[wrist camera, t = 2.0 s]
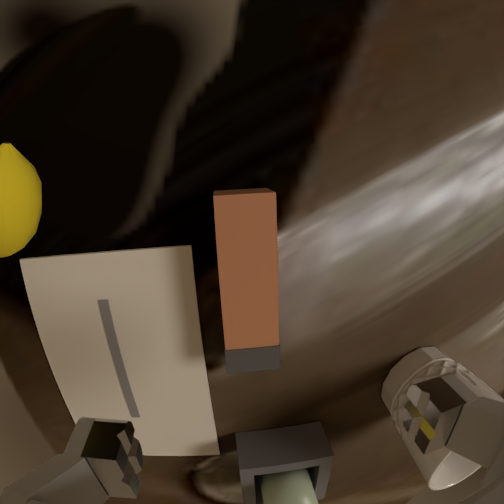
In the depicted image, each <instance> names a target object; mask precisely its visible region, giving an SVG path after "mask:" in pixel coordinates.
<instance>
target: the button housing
mask: <svg viewBox="0 0 504 504" xmlns="http://www.w3.org/2000/svg"><path fill="white" fill-rule="evenodd" d="M235 436H236V445H237V454H238V463H239V472H240V479H241V486H242V493H243V500H244V504H264V502H263V497H262V491H261V485H260V479H259V475H263V474H271V473H278V472H285V471H291V470H298V469H303V468H307V470H308V473H309V476H310V479H311V482H312V485H313V489H314V492H315V495H316V498H317V500H319V499H323V498H324V497H325V493H326V489H327V485H328V481H329V476H330V472H331V468H332V463H333V459H334V453H333V451H332V449H331V446H330V444H329V441H328V439H327V436H326V434H325V432H324V429H323V427H322V424H321V422H320V421H319V422H313V423H307V424H301V425H295V426H289V427H281V428H274V429H266V430H257V431H247V432H236V433H235Z"/></svg>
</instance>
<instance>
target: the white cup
mask: <svg viewBox="0 0 504 504" xmlns="http://www.w3.org/2000/svg"><path fill="white" fill-rule="evenodd" d="M446 373H452V374H454V375H455V376H456V377H457V378H458V379H459V380H460V381H462V382H463V383H464V384H465V385H466V386H467V387H468V388H469V389H470V390H471V391H472V392H473V393H474V394H475V395H477V396H478V397H482V396H483V397H486V398H490V399H493V400H497V401H500V402H504V399H503V398H502V397H501V396H499V395H498V394H497V393H496V392H495V391H493V390H492V389H491V388H490V387H489V386H488V385H486V384H485V383H484V382H483V381H482V380H480V379H479V378H477V377H476V376H475V375H473V374H472V373H471V372H470V371H469V370H467V369H465V368H464V367H463V366H462V365H461V364H459V363H458V362H455V361H453V360H452V359H451V358H450V357H448V356H447V355H446V354H445V353H444V352H442V351H440V350H439V349H437V348H436V347H434V346H432V347H422V348H418V349H417V350H415V351H413V352H411V353H409V354H407V355H405V356H404V357H403V358H402V359H401V360H400V361H399V362H398V363H397V364H396V365H395V366H394V367H393V368H392V369H391V370H390V372H389V374H388V376H387V377H386V379H385V381H384V382H383V386H382V393H381V398H382V400H383V402H384V404H385V405H386V407H387V409H388V411H389V412H390V414H391V416H392V418H393V423H394V425H395V426H396V428H397V430H398V432H399V434H400V436H401V438H402V439H403V441H404V443H405V445H406V447H407V449H408V451H409V452H410V454H411V456H412V458H413V459H414V461H415V463H416V465H417V467H418V468H419V470H420V472H421V474H422V476H423V478H424V480H425V481H426V483H427V485H428V487H429V488H430V489H431V490H441V489H445V488H448V487H450V486H453V485H455V484H457V483H459V482H460V481H462V480H464V479H465V478H467V477H468V476H470V475H471V474H472V473H474V472H475V471H477V470H478V469H479V468H480V467H481V465H479V464H477V463H475V462H473V461H471V460H469V459H467V458H465V457H463V456H461V455H459V454H457V453H455V452H453V451H451V450H449V449H447V448H445V447H446V446H445V447H443V448H440V449H438V450H435V451H433V452H430V453H428V454H425V455H424V454H423V453H422V452H421V450H420V449H419V447H418V446H417V445H416V443H415V442H414V441H415V435H413V434H410V433H408V432H407V430H406V429H405V427H404V425H403V422H402V411H403V407H404V405H405V404H406V403H407V402H408V400H409V398H408V397H407V392H408V389H409V388H410V386H411V385H413V384H416V383H420V382H423V381H426V380H429V379H432V378H435V377H437V376H440V375H443V374H446Z"/></svg>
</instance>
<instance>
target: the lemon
mask: <svg viewBox="0 0 504 504" xmlns="http://www.w3.org/2000/svg"><path fill="white" fill-rule="evenodd" d="M41 209H42V195H41V181H40V179H39V176H38V174H37V172H36V170H35V167H34V166H33V165H32V164H31V163H30V162H29V161H28V160H27V159H26V158H25V157H24V156H22V155H21V154H20V153H19V152H18V151H17V150H16V149H15V148H14V147H13V146H12V145H11V144H10V143H8V142H5V143H3V144H1V145H0V257H6V256H10V255H12V254H14V253H16V252H17V251H19V250H21V249H22V248H24V247H25V245H26V244H27V243H28V242H29V241H30V239H31V238H32V237H33V236H34V235H35V233H36V231H37V227H38V223H39V220H40V216H41Z"/></svg>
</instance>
